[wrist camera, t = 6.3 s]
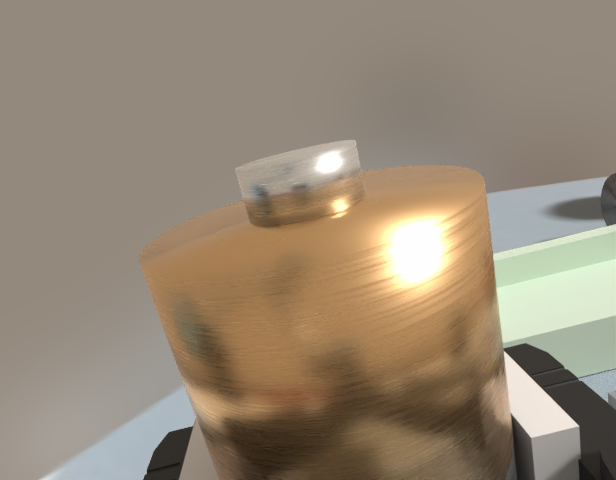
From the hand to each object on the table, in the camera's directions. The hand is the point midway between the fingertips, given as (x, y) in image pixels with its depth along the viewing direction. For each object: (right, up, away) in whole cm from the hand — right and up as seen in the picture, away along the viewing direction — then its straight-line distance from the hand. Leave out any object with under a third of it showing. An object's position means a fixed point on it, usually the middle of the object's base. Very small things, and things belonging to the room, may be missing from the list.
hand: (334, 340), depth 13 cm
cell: (+2, -8, -3) cm, 8 cm away
